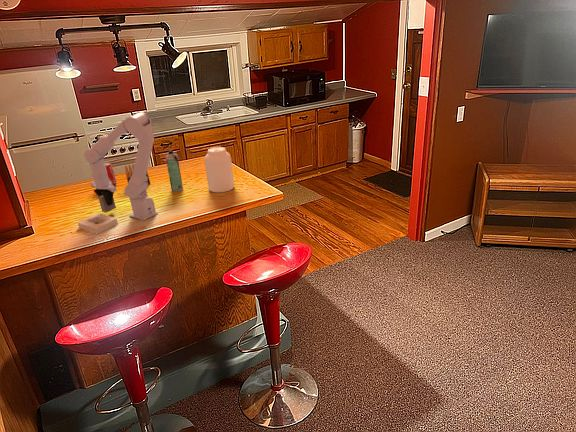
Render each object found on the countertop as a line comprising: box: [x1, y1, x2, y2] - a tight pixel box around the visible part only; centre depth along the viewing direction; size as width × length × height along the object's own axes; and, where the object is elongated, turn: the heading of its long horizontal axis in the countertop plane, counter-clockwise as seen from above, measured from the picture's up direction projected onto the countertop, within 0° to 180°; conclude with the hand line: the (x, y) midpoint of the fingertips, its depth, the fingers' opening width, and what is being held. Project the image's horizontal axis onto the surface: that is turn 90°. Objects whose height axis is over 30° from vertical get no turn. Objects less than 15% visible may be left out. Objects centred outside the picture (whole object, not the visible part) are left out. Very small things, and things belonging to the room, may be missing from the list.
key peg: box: [97, 195, 117, 214], centre depth 185 cm, size 3×5×7 cm, turn 148°
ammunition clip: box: [124, 162, 151, 185], centre depth 215 cm, size 11×2×12 cm, turn 114°
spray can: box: [165, 149, 184, 193], centre depth 205 cm, size 6×6×20 cm
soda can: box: [104, 161, 117, 187], centre depth 215 cm, size 7×7×12 cm
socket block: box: [77, 212, 119, 235], centre depth 176 cm, size 12×10×2 cm
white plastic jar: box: [204, 146, 235, 193], centre depth 204 cm, size 12×12×20 cm
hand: (107, 204), depth 185 cm, fingers closed on key peg, 3 cm apart
